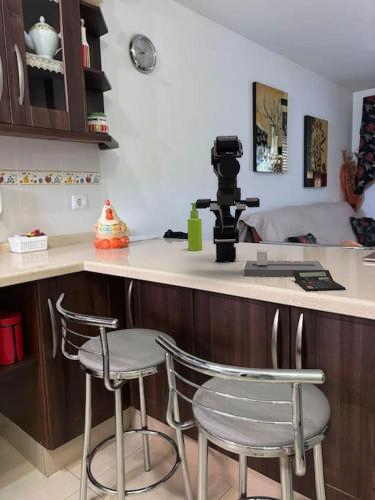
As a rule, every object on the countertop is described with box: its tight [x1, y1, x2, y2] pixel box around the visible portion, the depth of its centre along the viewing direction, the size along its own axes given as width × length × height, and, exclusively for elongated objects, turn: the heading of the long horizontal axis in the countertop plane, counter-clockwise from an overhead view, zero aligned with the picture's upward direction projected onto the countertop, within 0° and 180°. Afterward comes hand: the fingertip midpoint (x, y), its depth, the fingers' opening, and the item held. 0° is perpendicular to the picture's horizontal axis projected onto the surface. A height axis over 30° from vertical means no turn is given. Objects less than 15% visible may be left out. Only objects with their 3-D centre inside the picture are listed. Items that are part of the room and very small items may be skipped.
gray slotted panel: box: [243, 260, 326, 278], centre depth 114 cm, size 22×14×2 cm, turn 78°
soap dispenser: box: [187, 202, 203, 252], centre depth 161 cm, size 6×7×20 cm
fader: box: [256, 248, 268, 265], centre depth 114 cm, size 3×6×4 cm, turn 168°
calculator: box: [293, 269, 347, 292], centre depth 97 cm, size 9×12×3 cm
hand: (228, 232), depth 115 cm, fingers open, 3 cm apart
